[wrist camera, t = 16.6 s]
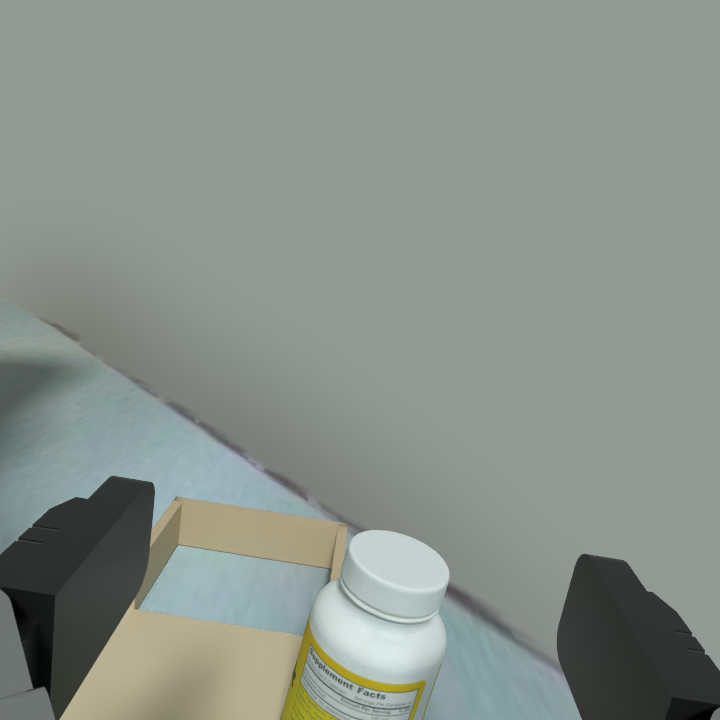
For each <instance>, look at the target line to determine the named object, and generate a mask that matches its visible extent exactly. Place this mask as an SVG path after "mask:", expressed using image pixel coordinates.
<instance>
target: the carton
mask: <svg viewBox="0 0 720 720" xmlns="http://www.w3.org/2000/svg"><path fill="white" fill-rule="evenodd" d="M347 527H348V524H346V523H340V522H333V521H327V520H321V519H315V518H308V517H302V516H296V515H290V514H283V513H277V512H271V511H264V510H258V509H252V508H246V507H239V506H233V505H227V504H221V503H214V502H208V501H202V500H195V499H189V498H183V497H177V496H176V497H175V499H174V500H173V501H172V503H171V504H170V505H169V507H168V508H167V509H166V511H165V512H164V513H163V515H162V516H161V517H160V519H159V520H158V522H157V523H156V524H155V526H154V527H153V528H152V530H151V541H150V552H149V561H148V566H147V570H146V574H145V577H144V580H143V583H142V586H141V588H140V590H139V592H138V594H137V596H136V597H135V599H134V600H133V602H132V604H131V605H130V607H129V608H128V610H127V612H126V613H125V615H124V617H123V618H122V620H121V621H120V623H119V625H118V626H117V628H116V629H115V631H114V633H113V634H112V636H111V637H110V639H109V641H108V642H107V644H106V646H105V647H104V649H103V650H102V652H101V654H100V655H99V657H98V658H97V660H96V662H95V663H94V665H93V667H92V668H91V670H90V671H89V673H88V675H87V676H86V678H85V679H84V681H83V683H82V684H81V686H80V687H79V689H78V691H77V692H76V694H75V696H74V697H73V699H72V700H71V702H70V704H69V705H68V707H67V708H66V710H65V712H64V713H63V715H62V717H61V718H60V720H280V718H281V714H282V711H283V707H284V704H285V700H286V697H287V693H288V690H289V686H290V682H291V679H292V675H293V671H294V668H295V664H296V662H297V658H298V654H299V650H300V647H301V643H302V640H303V636H301V635H294V634H288V633H282V632H276V631H269V630H263V629H257V628H250V627H244V626H238V625H232V624H225V623H219V622H213V621H206V620H200V619H194V618H188V617H181V616H175V615H169V614H163V613H156V612H150V611H144V610H137V609H138V608H139V606H140V605H141V603H142V601H143V600H144V598H145V597H146V595H147V593H148V592H149V590H150V589H151V587H152V585H153V584H154V582H155V581H156V579H157V577H158V576H159V574H160V573H161V571H162V569H163V568H164V566H165V565H166V563H167V561H168V560H169V558H170V557H171V555H172V554H173V552H174V550H175V549H176V547H177V546H178V545H185V546H191V547H197V548H204V549H210V550H216V551H222V552H229V553H235V554H241V555H247V556H254V557H260V558H266V559H273V560H279V561H285V562H291V563H298V564H304V565H310V566H317V567H323V568H329V569H331V574H330V581H329V582H331V581H332V580H334V579H336V578H339V577H340V573H341V567H342V563H343V561H344V554H345V545H346V536H347Z"/></svg>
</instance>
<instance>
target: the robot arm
mask: <svg viewBox="0 0 720 720" xmlns="http://www.w3.org/2000/svg"><path fill="white" fill-rule="evenodd" d="M154 497H155V489H154V484H153V483H152V482H148V481H141V480H135V479H129V478H123V477H117V476H111V477H109V478H108V479H107V480H106V481H105V482H104V483H103V484H102V485H101V486H100V487H99V488H98V489H97V490H96V491H95V492H94V493H93V494H92V495H91V496H90V497H89V498H88V499H84V498H78V497H75V498H73V499H71V500H69V501H66V502H64V503H62V504H60V505H57V506H55V507H53V508H51V509H49V510H48V511H47V512H46V513H45V514H44V515H43V516H42V517H41V518H40V519H38V520H37V521H36V522H35V523H34V524H33V527H32V528H29V529H28V530H27V531H26V532H24V533H23V534H22V535H21V536H20V537H19V539H18V542H17V541H15V542H14V543H13V544H11V545H10V546H9V547H8V548H7V549H6V550H5V551H4V552H3V553H2V554H1V555H0V720H60V718H61V717H62V715H63V713H64V712H65V710H66V708H67V707H68V705H69V704H70V702H71V700H72V699H73V697H74V696H75V694H76V692H77V691H78V689H79V687H80V686H81V684H82V683H83V681H84V679H85V678H86V676H87V675H88V673H89V671H90V670H91V668H92V667H93V665H94V663H95V662H96V660H97V658H98V657H99V655H100V654H101V652H102V650H103V649H104V647H105V646H106V644H107V642H108V641H109V639H110V637H111V636H112V634H113V633H114V631H115V629H116V628H117V626H118V625H119V623H120V621H121V620H122V618H123V617H124V615H125V613H126V612H127V610H128V608H129V607H130V605H131V604H132V602H133V600H134V599H135V597H136V596H137V594H138V592H139V590H140V588H141V586H142V583H143V580H144V577H145V574H146V570H147V566H148V561H149V552H150V541H151V530H152V519H153V508H154ZM557 652H558V658H559V662H560V664H561V667H562V670H563V672H564V675H565V677H566V680H567V682H568V685H569V687H570V690H571V693H572V695H573V698H574V700H575V703H576V705H577V708H578V710H579V713H580V716H581V718H582V720H720V671H719V669H718V668H717V667H716V665H715V664H714V663H713V661H712V660H711V658H710V657H709V656H708V655H705V650H704V649H703V648H702V646H701V645H700V644H699V642H698V641H697V639H696V638H695V637H692V632H691V631H690V630H689V628H688V627H687V625H686V624H685V623H684V621H683V620H682V619H681V617H680V616H679V615H678V613H677V612H676V611H675V610H674V609H672V608H671V607H670V606H669V605H668V604H666V603H665V602H664V601H663V600H661V599H660V598H659V597H658V596H657V595H655V594H654V593H653V592H648V591H646V589H645V588H644V586H643V585H642V584H641V582H640V581H639V579H638V578H637V576H636V575H635V573H634V572H633V570H632V569H631V568H630V566H629V565H628V563H627V562H625V561H624V560H619V559H612V558H606V557H600V556H594V555H588V554H582V555H581V556H580V557H579V558H578V560H577V562H576V565H575V568H574V572H573V575H572V579H571V582H570V586H569V590H568V593H567V597H566V601H565V604H564V608H563V612H562V615H561V619H560V622H559V626H558V632H557Z"/></svg>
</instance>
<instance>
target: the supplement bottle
mask: <svg viewBox="0 0 720 720" xmlns="http://www.w3.org/2000/svg"><path fill="white" fill-rule="evenodd" d="M448 582H449V570H448V567H447V565H446V563H445V561H444V560H443V559H442V558H441V556H440V555H438V553H436V552H435V551H434V550H433V549H431V548H430V547H429V546H427V545H426V544H424V543H422V542H420V541H418V540H416V539H414V538H411V537H409V536H406V535H403V534H400V533H396V532H391V531H384V530H370V531H365V532H361V533H359V534H357V535H355V536H354V537H353V538H352V539H351V541H350V543H349V545H348V548H347V551H346V555H345V558H344V561H343V563H342V567H341V573H340V577H339V578H336V579H334V580H332V581H331V582H329V583H328V584H327V585H325V586H324V587H323V588H322V589H321V591H320V592H319V593H318V595H317V596H316V598H315V600H314V603H313V606H312V609H311V612H310V614H309V618H308V622H307V625H306V629H305V632H304V636H303V640H302V643H301V647H300V650H299V654H298V658H297V662H296V664H295V668H294V671H293V675H292V679H291V682H290V686H289V690H288V693H287V697H286V700H285V704H284V707H283V711H282V714H281V718H280V720H423V716H424V714H425V710H426V708H427V705H428V702H429V699H430V696H431V693H432V690H433V687H434V684H435V681H436V679H437V676H438V673H439V670H440V667H441V664H442V661H443V657H444V654H445V650H446V632H445V628H444V624H443V622H442V620H441V618H440V616H439V614H438V611H439V609H440V606H441V604H442V601H443V598H444V594H445V591H446V588H447V585H448Z"/></svg>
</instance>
